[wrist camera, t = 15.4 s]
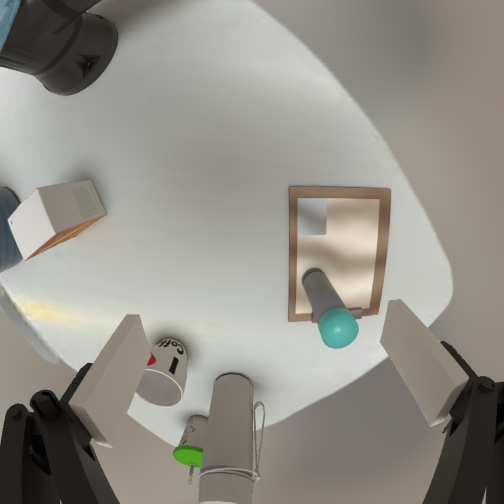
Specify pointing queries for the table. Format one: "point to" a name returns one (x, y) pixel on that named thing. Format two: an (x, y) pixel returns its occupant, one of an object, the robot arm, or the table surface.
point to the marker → (329, 310)
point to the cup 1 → (164, 374)
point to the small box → (54, 216)
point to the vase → (7, 231)
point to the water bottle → (229, 444)
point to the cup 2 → (192, 443)
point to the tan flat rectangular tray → (338, 245)
